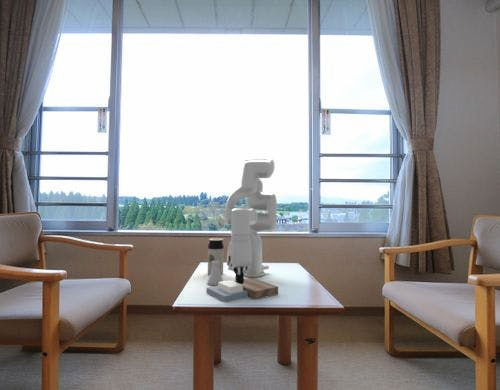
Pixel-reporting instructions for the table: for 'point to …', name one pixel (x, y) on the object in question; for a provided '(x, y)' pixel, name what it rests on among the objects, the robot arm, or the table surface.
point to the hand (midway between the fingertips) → (239, 283)
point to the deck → (258, 288)
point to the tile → (230, 286)
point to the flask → (215, 274)
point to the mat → (226, 294)
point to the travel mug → (215, 253)
